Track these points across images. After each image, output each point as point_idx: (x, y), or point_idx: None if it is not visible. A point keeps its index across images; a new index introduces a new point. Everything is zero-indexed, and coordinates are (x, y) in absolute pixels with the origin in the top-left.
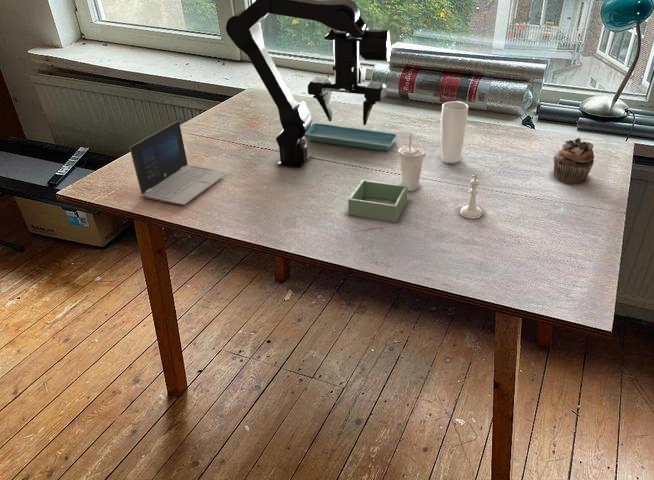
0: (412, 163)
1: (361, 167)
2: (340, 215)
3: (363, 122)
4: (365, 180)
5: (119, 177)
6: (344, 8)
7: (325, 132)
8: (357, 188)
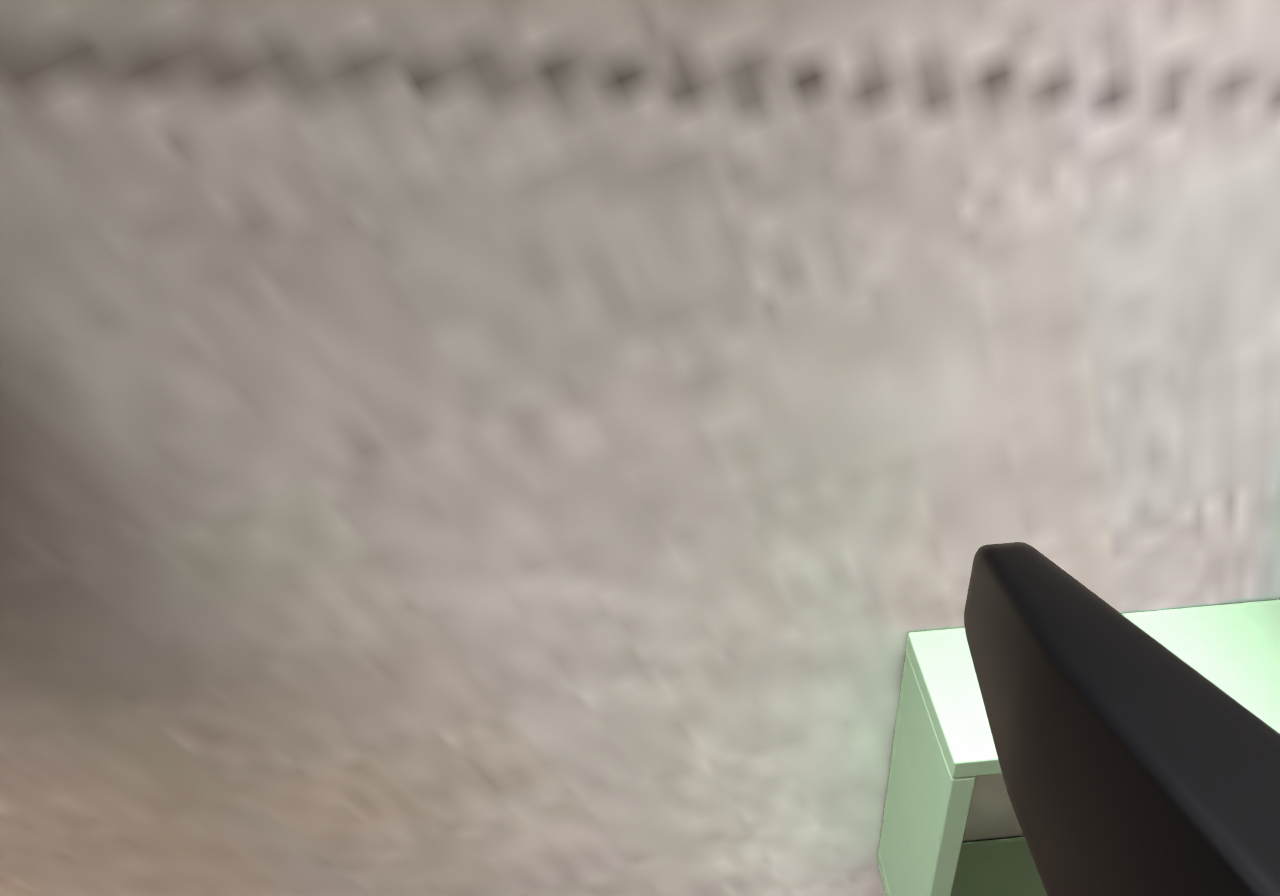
0: None
1: (702, 78)
2: (820, 879)
3: (995, 721)
4: (991, 765)
5: None
6: None
7: None
8: (945, 878)
